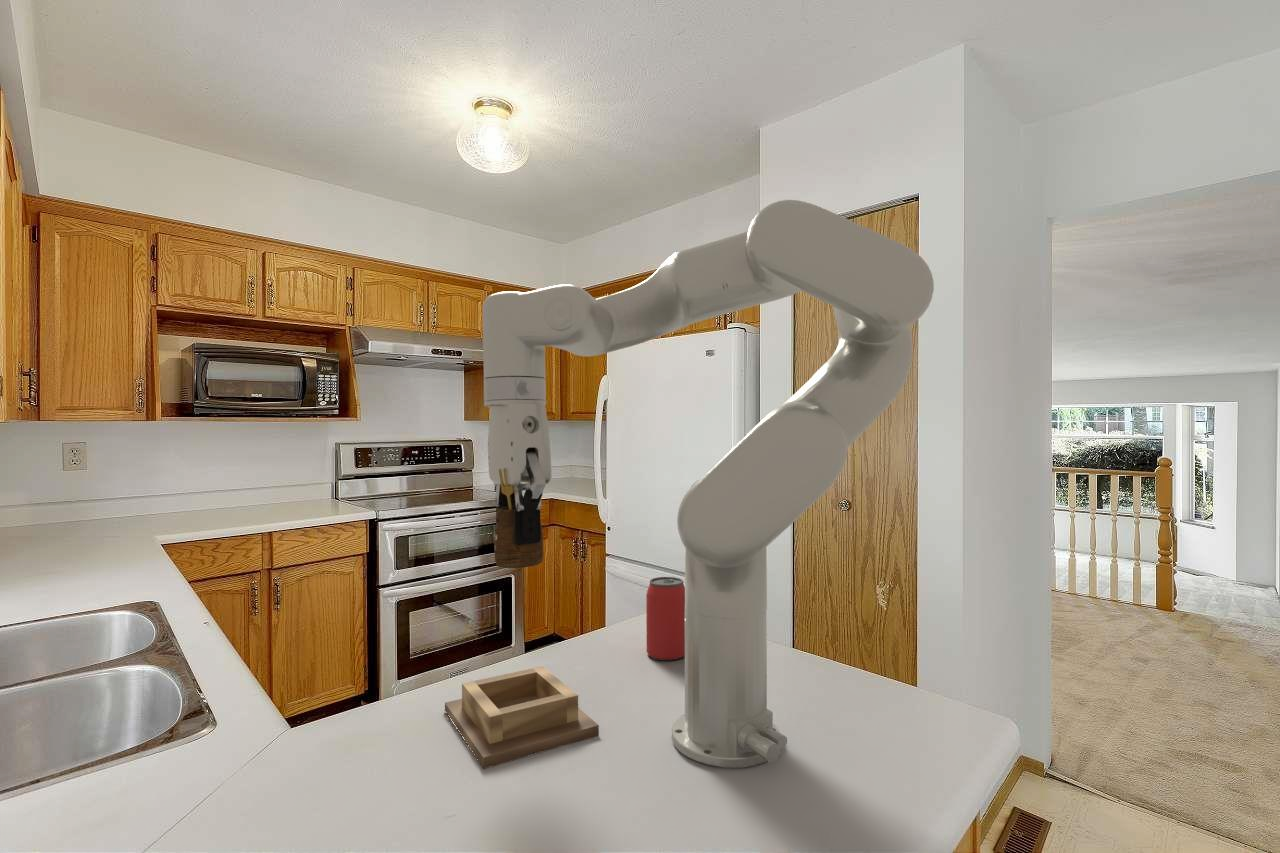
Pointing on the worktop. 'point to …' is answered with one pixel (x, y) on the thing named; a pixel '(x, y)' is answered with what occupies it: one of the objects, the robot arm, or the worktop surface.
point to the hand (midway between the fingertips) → (518, 538)
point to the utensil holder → (512, 537)
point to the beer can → (665, 618)
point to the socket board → (518, 716)
